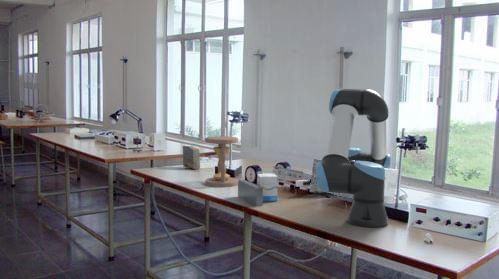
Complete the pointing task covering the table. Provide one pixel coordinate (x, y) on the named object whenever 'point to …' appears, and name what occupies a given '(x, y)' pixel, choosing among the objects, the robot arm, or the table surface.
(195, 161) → the geological specimen
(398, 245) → the table surface
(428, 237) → the power adapter
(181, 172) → the table surface
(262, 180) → the ink box
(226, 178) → the hourglass
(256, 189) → the block
